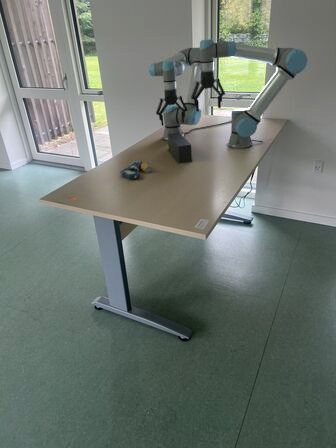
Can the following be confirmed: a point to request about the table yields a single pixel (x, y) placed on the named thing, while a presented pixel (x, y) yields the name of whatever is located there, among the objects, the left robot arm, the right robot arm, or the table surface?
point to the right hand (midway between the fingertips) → (208, 109)
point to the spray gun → (135, 167)
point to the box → (179, 147)
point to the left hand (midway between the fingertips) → (172, 123)
